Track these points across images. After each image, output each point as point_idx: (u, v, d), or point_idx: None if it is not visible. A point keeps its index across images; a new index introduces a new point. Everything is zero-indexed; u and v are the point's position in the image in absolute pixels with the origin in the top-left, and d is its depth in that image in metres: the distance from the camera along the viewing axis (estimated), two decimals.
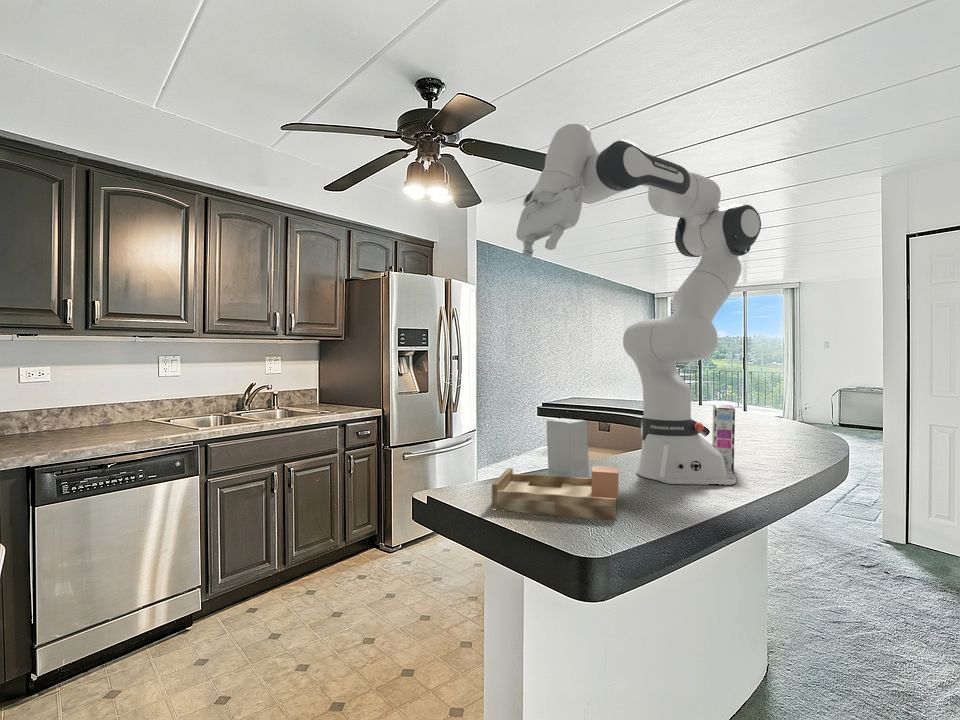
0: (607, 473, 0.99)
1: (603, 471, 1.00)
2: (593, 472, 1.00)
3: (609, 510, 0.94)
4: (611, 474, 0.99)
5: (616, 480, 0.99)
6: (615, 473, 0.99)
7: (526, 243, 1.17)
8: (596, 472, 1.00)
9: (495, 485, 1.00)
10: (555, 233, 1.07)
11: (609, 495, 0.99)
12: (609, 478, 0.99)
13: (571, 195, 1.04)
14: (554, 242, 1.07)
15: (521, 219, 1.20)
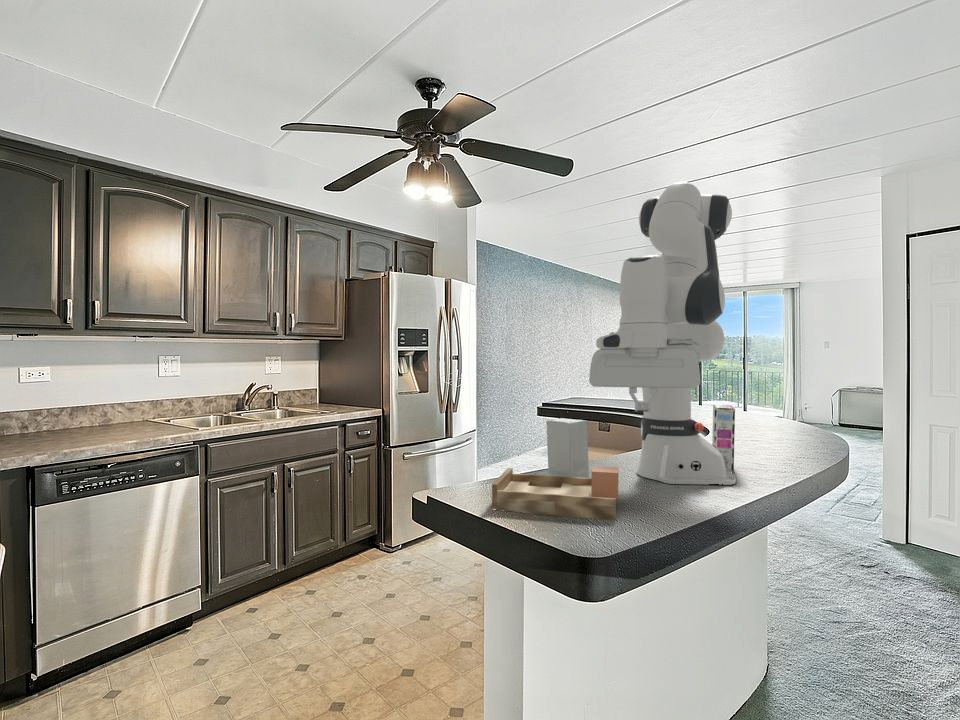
0: (607, 473, 0.99)
1: (603, 471, 1.00)
2: (593, 472, 1.00)
3: (609, 510, 0.94)
4: (611, 474, 0.99)
5: (616, 480, 0.99)
6: (615, 473, 0.99)
7: (634, 395, 0.99)
8: (596, 472, 1.00)
9: (495, 485, 1.00)
10: (655, 396, 0.99)
11: (609, 495, 0.99)
12: (609, 478, 0.99)
13: (697, 358, 0.96)
14: None
15: (596, 364, 1.00)
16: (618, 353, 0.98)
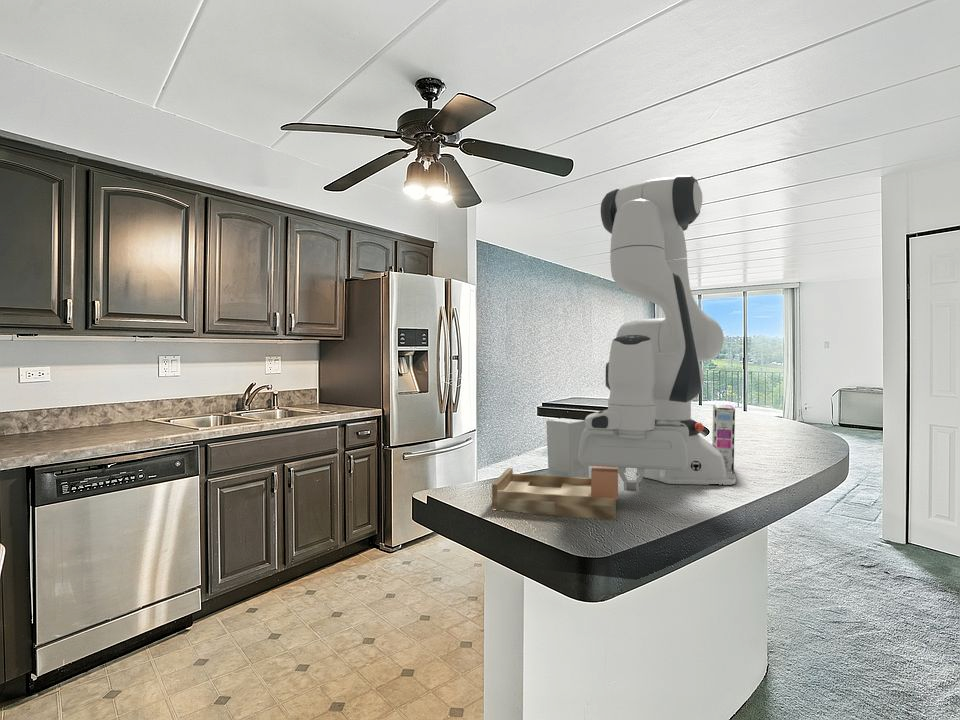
0: (607, 473, 0.99)
1: (603, 471, 1.00)
2: (593, 472, 1.00)
3: (609, 510, 0.94)
4: (611, 474, 0.99)
5: (616, 480, 0.99)
6: (615, 473, 0.99)
7: (623, 474, 1.00)
8: (596, 472, 1.00)
9: (495, 485, 1.00)
10: (642, 476, 0.99)
11: (609, 495, 0.99)
12: (608, 478, 0.99)
13: (684, 441, 0.97)
14: None
15: (585, 443, 1.00)
16: (606, 434, 0.99)
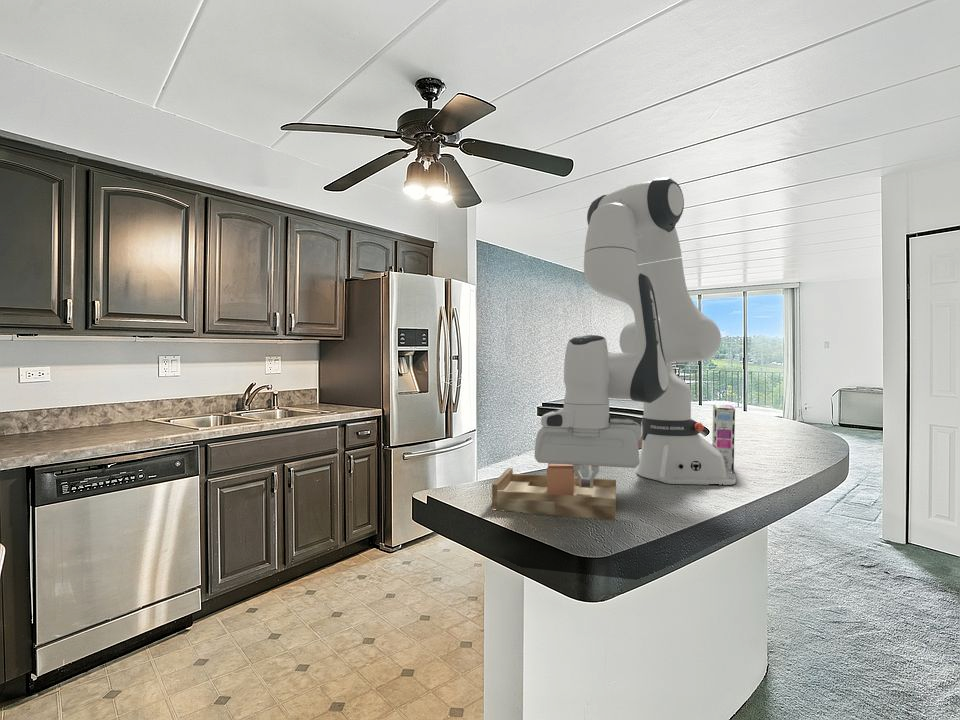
0: (561, 470, 1.01)
1: (558, 468, 1.02)
2: (548, 469, 1.02)
3: (609, 510, 0.94)
4: (565, 471, 1.01)
5: (570, 476, 1.01)
6: (569, 469, 1.01)
7: (578, 472, 1.02)
8: (551, 469, 1.02)
9: (495, 485, 1.00)
10: (596, 473, 1.01)
11: (564, 491, 1.01)
12: (563, 475, 1.01)
13: (636, 439, 0.99)
14: None
15: (541, 441, 1.02)
16: (561, 432, 1.01)
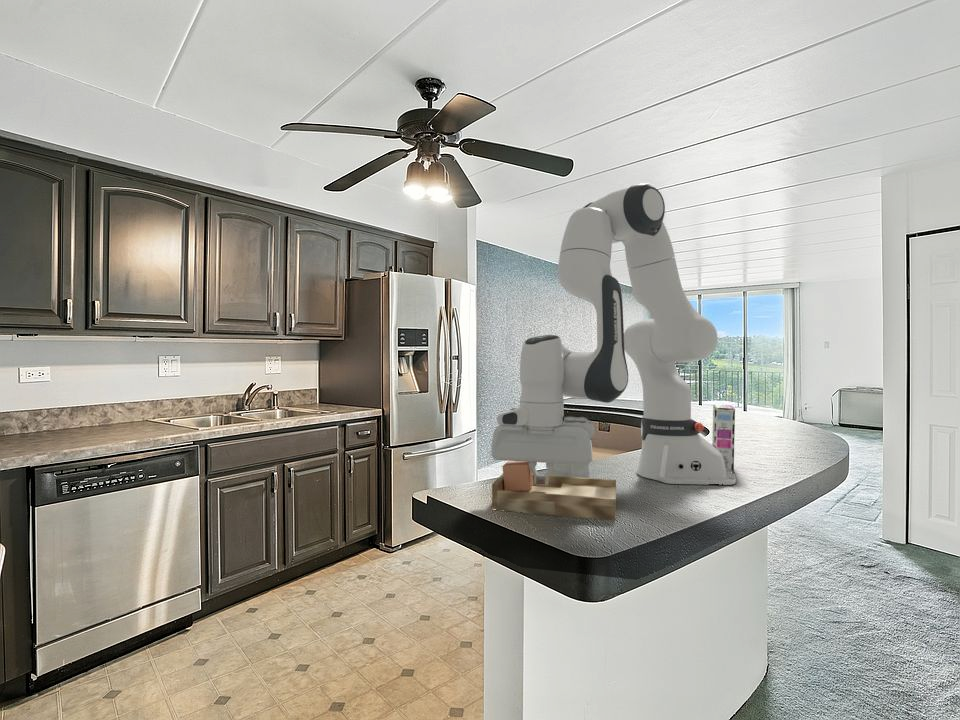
0: (517, 466, 1.03)
1: (513, 465, 1.04)
2: (504, 467, 1.04)
3: (609, 510, 0.94)
4: (520, 467, 1.03)
5: (525, 472, 1.03)
6: (524, 465, 1.03)
7: (533, 469, 1.04)
8: (507, 466, 1.04)
9: (495, 485, 1.00)
10: (551, 470, 1.04)
11: (521, 487, 1.03)
12: (519, 471, 1.03)
13: (589, 437, 1.01)
14: (548, 477, 1.05)
15: (497, 439, 1.05)
16: (516, 430, 1.03)
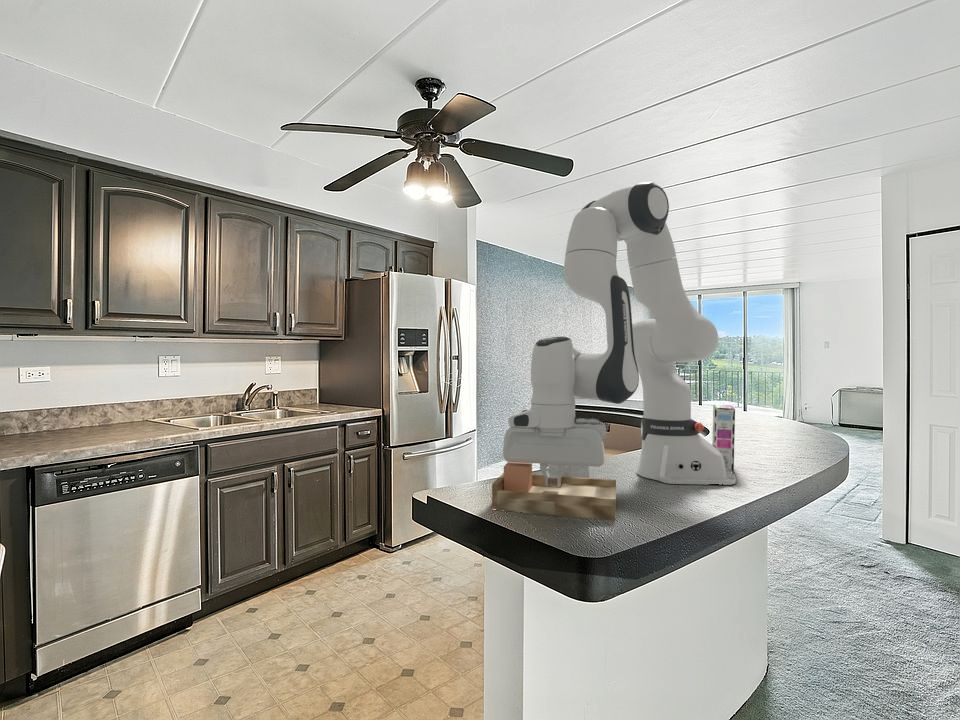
0: (518, 468, 1.03)
1: (515, 466, 1.04)
2: (505, 467, 1.04)
3: (609, 510, 0.94)
4: (521, 469, 1.03)
5: (526, 475, 1.03)
6: (525, 468, 1.03)
7: (545, 471, 1.04)
8: (508, 467, 1.04)
9: (495, 485, 1.00)
10: (563, 472, 1.03)
11: (520, 489, 1.03)
12: (519, 473, 1.03)
13: (601, 438, 1.01)
14: (560, 479, 1.04)
15: (509, 441, 1.05)
16: (528, 432, 1.03)
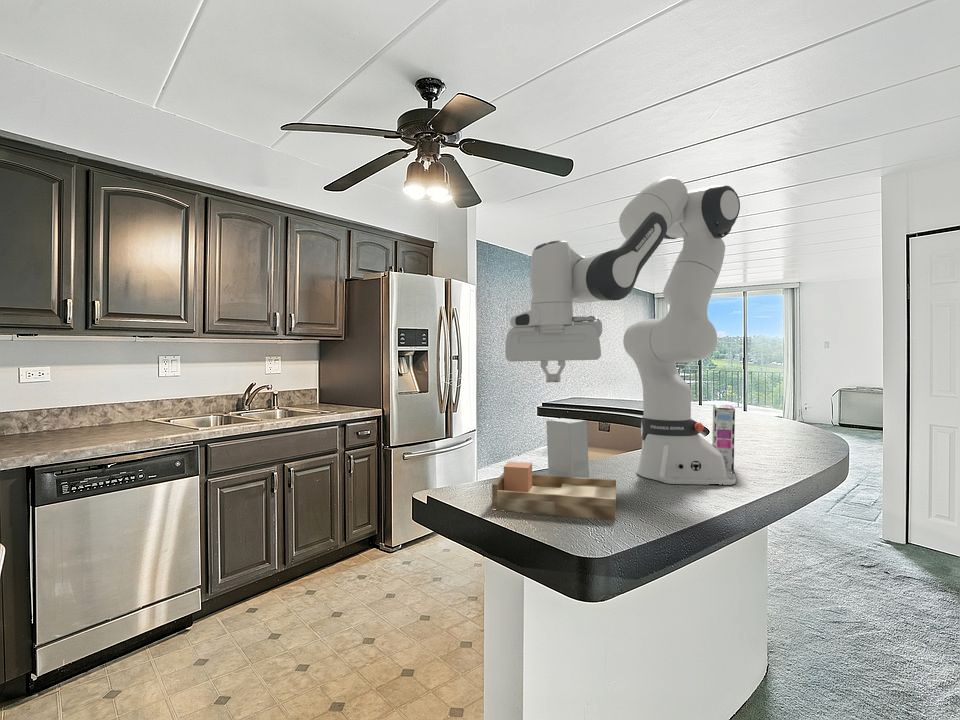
0: (518, 468, 1.03)
1: (515, 466, 1.04)
2: (505, 467, 1.04)
3: (609, 510, 0.94)
4: (521, 469, 1.03)
5: (526, 475, 1.03)
6: (525, 468, 1.03)
7: (545, 368, 1.11)
8: (508, 467, 1.04)
9: (495, 485, 1.00)
10: (563, 368, 1.10)
11: (520, 489, 1.03)
12: (519, 473, 1.03)
13: (597, 333, 1.07)
14: None
15: (511, 341, 1.11)
16: (529, 330, 1.09)
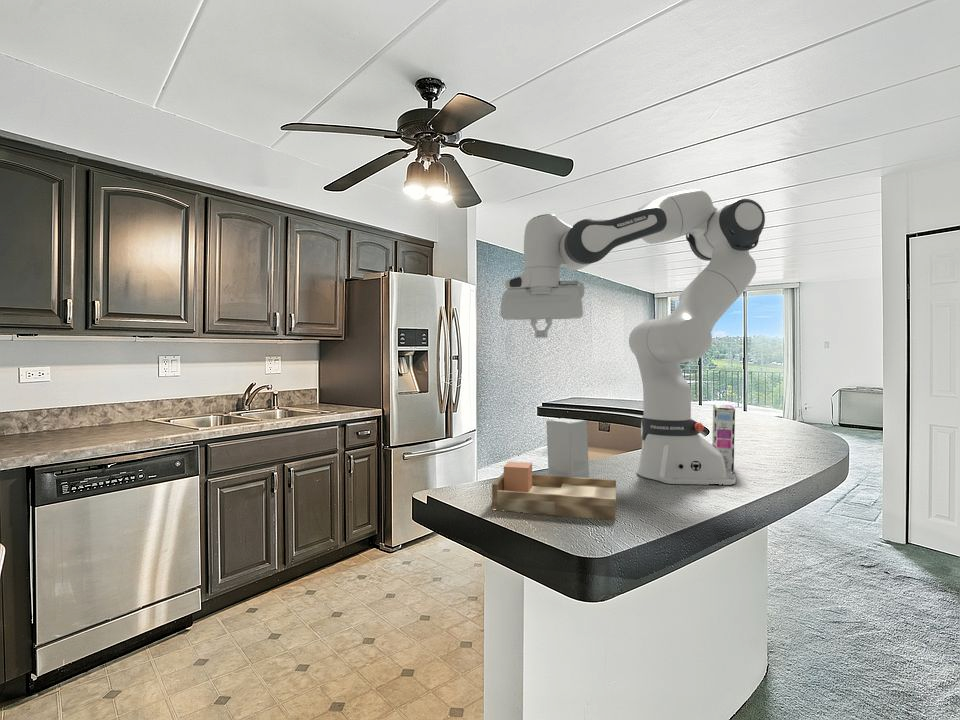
0: (518, 468, 1.03)
1: (515, 466, 1.04)
2: (505, 467, 1.04)
3: (609, 510, 0.94)
4: (521, 469, 1.03)
5: (526, 475, 1.03)
6: (525, 468, 1.03)
7: (535, 325, 1.28)
8: (508, 467, 1.04)
9: (495, 485, 1.00)
10: (550, 325, 1.27)
11: (520, 489, 1.03)
12: (519, 473, 1.03)
13: (580, 295, 1.24)
14: (547, 332, 1.28)
15: (505, 301, 1.28)
16: (521, 291, 1.26)
